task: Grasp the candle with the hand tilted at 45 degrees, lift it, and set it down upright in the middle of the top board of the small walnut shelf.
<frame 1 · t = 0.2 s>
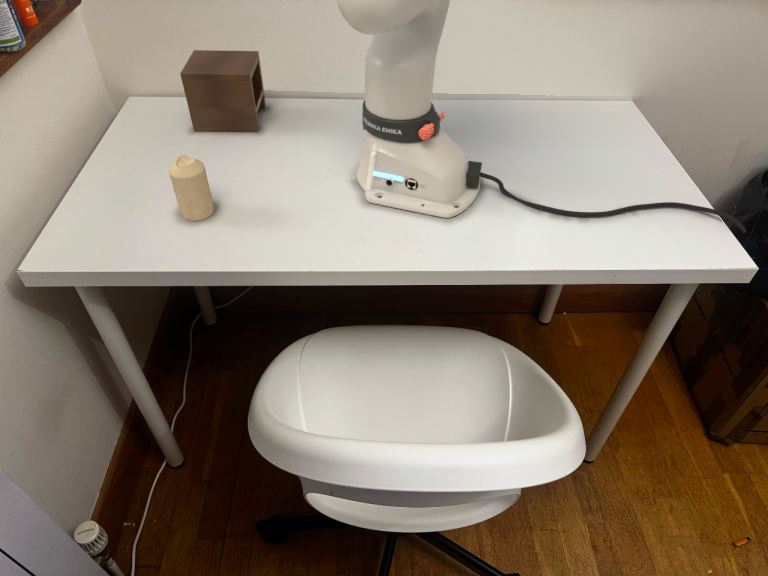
candle: (198, 212, 95), on the table
shelf: (231, 118, 118), on the table
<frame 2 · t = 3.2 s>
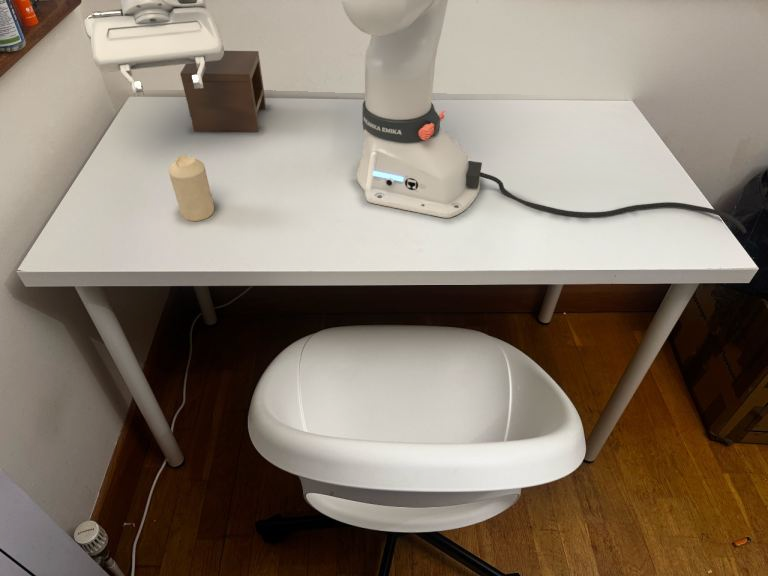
hand: (169, 90, 92), 16 cm above the table, tool tilted 45°, fingers open, 8 cm apart
nothing on the table moved.
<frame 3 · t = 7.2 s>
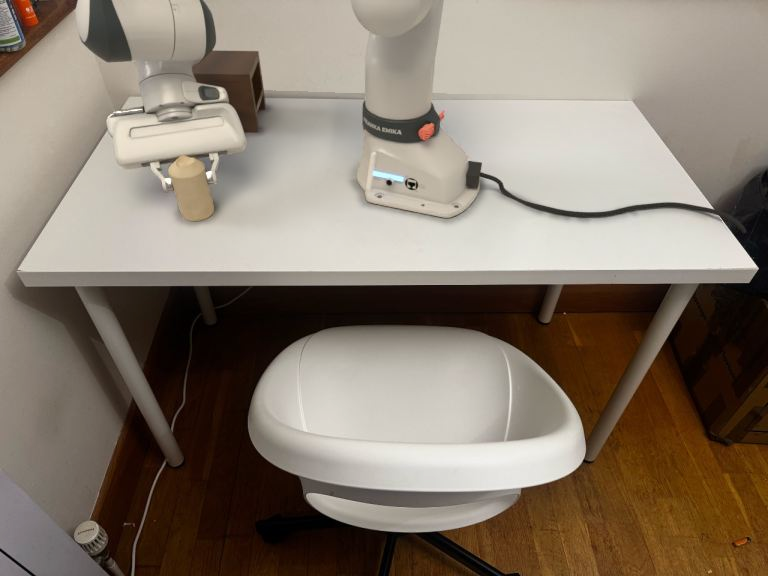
hand: (191, 186, 91), 5 cm above the table, tool tilted 45°, fingers closed on candle, 5 cm apart
candle: (198, 212, 95), on the table, touching gripper
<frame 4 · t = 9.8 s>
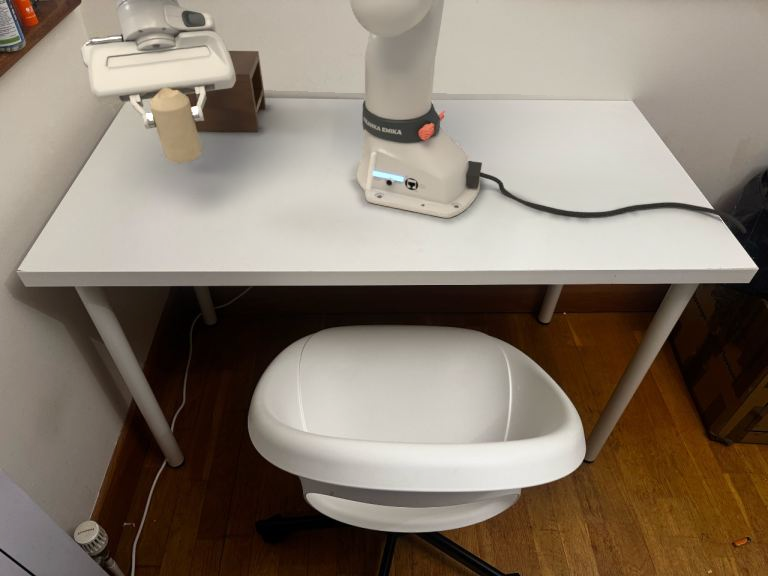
hand: (175, 123, 83), 17 cm above the table, tool tilted 45°, fingers closed on candle, 5 cm apart
candle: (183, 154, 87), point 11 cm above the table, touching gripper
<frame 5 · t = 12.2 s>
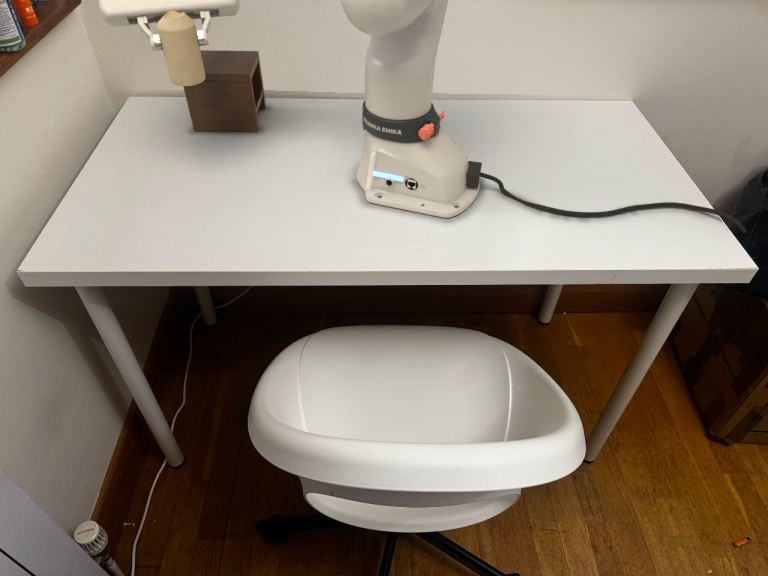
hand: (181, 46, 86), 23 cm above the table, tool tilted 45°, fingers closed on candle, 5 cm apart
candle: (188, 80, 91), point 18 cm above the table, touching gripper
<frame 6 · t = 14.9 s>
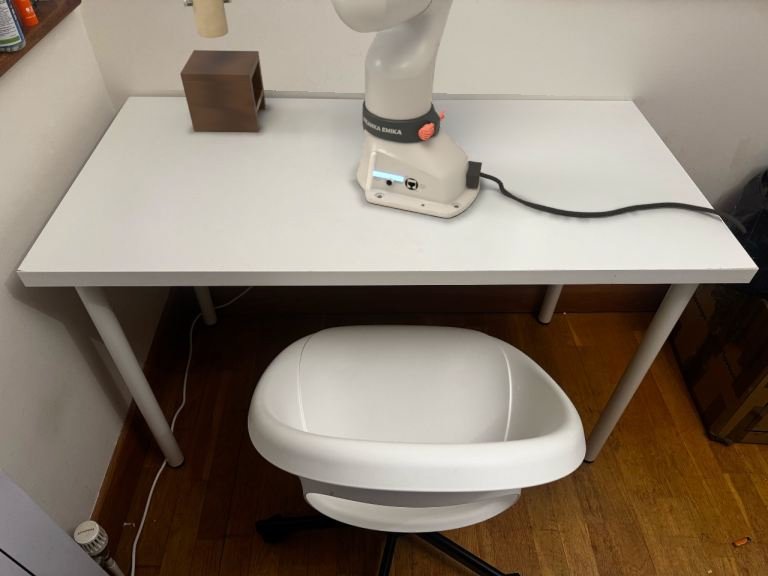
hand: (208, 3, 101), 23 cm above the table, tool tilted 45°, fingers closed on candle, 5 cm apart
candle: (213, 33, 105), point 18 cm above the table, touching gripper
when the fingers open (17 cm above the table, at t = 17.1 s): candle stays where it is, resting on shelf.
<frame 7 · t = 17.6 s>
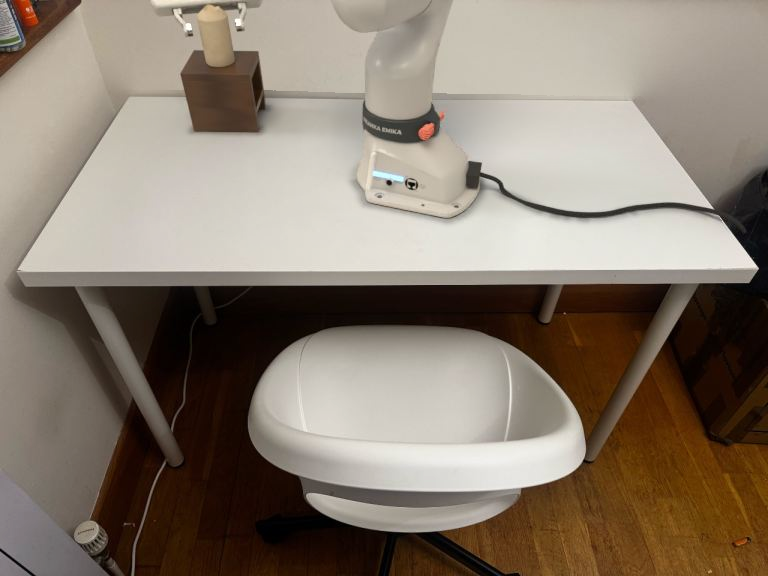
hand: (215, 32, 105), 18 cm above the table, tool tilted 45°, fingers open, 8 cm apart
candle: (220, 62, 110), point 12 cm above the table, touching shelf
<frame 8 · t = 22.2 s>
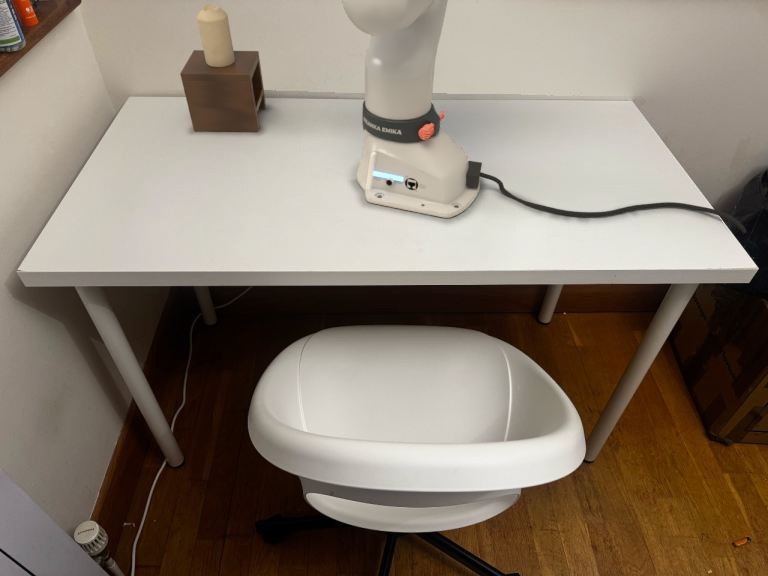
nothing on the table moved.
at the end: candle inside the target area on the shelf (0.0 cm from its centre), point 11.8 cm above the shelf's base; candle tilted 0°; the gripper is holding nothing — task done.
